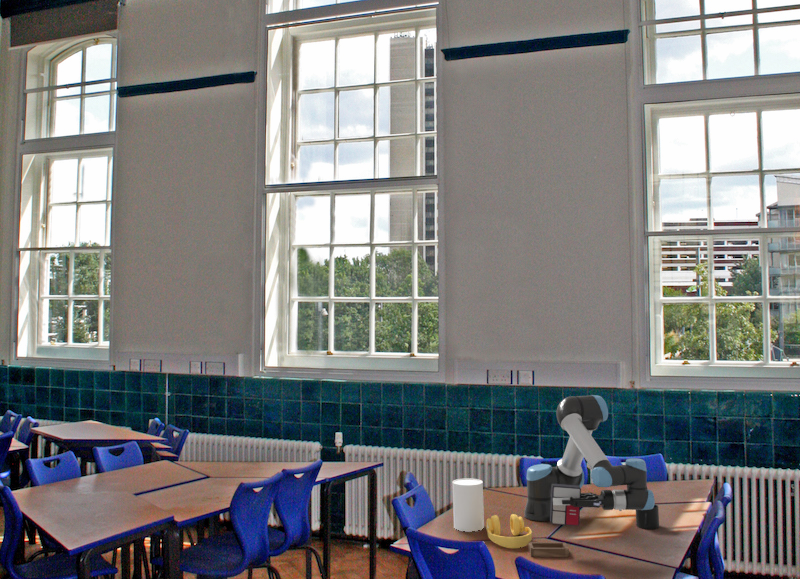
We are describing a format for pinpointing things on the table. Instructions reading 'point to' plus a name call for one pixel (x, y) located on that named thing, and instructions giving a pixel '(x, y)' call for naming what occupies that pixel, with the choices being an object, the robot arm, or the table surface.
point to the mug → (648, 518)
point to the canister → (468, 504)
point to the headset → (515, 527)
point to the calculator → (565, 512)
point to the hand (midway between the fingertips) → (552, 500)
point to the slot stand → (548, 549)
